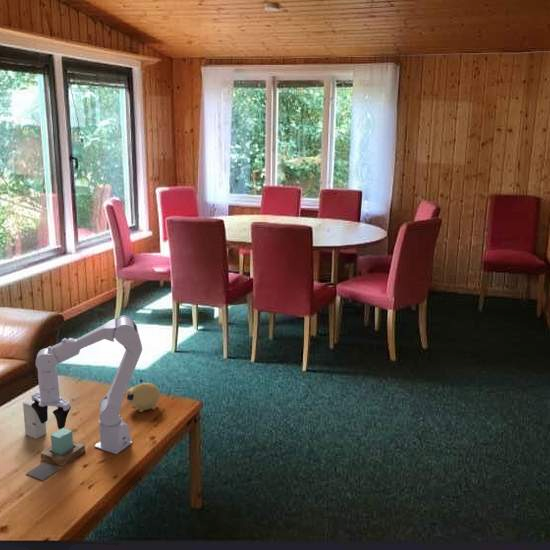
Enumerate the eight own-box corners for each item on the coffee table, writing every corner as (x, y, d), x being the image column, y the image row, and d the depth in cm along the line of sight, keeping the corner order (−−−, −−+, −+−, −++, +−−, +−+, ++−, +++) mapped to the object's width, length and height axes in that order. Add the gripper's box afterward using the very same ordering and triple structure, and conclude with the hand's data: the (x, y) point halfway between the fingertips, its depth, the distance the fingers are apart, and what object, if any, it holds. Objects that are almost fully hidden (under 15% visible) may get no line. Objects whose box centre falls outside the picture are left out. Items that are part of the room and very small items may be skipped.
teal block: (73, 452, 191) (71, 430, 189) (62, 460, 187) (60, 438, 184) (64, 449, 193) (62, 427, 190) (52, 457, 188) (50, 435, 186)
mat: (60, 468, 182) (60, 467, 182) (42, 481, 176) (42, 480, 176) (44, 462, 185) (44, 461, 185) (26, 474, 179) (26, 473, 179)
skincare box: (24, 434, 201) (21, 402, 198) (35, 428, 205) (32, 397, 201) (37, 439, 198) (33, 407, 195) (47, 433, 202) (44, 401, 198)
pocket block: (85, 450, 192) (84, 445, 191) (61, 466, 183) (61, 460, 183) (64, 443, 196) (64, 437, 195) (40, 459, 187) (40, 452, 187)
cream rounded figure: (129, 402, 223) (128, 377, 221) (161, 402, 224) (160, 376, 221) (124, 416, 214) (123, 389, 211) (158, 415, 215) (157, 388, 212)
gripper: (22, 386, 184) (26, 425, 188) (56, 396, 178) (60, 436, 182) (39, 377, 190) (43, 415, 194) (73, 387, 184) (77, 425, 188)
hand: (52, 424), depth 189 cm, fingers open, 7 cm apart
